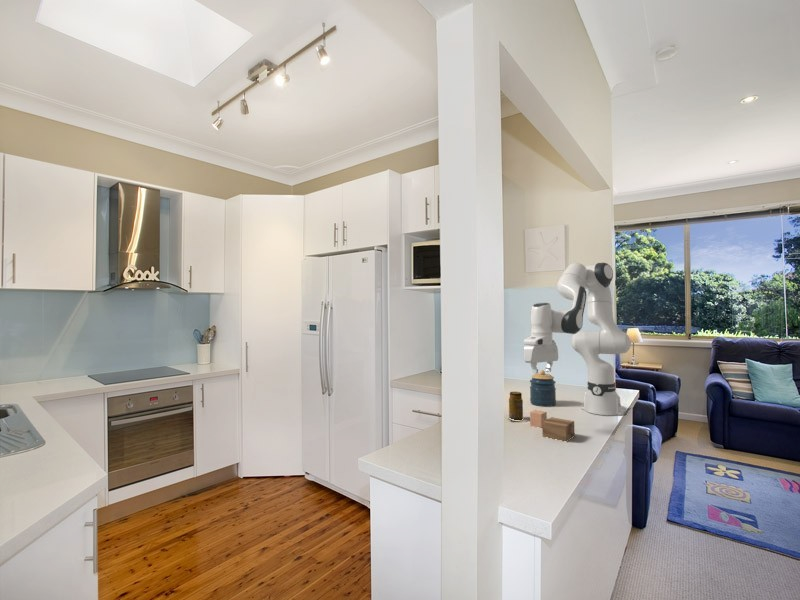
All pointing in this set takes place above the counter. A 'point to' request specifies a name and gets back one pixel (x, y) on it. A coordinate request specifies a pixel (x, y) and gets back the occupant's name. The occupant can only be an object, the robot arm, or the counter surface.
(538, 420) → the terracotta cube
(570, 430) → the walnut box
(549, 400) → the canister
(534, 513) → the counter surface
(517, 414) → the condiment
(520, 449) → the counter surface
